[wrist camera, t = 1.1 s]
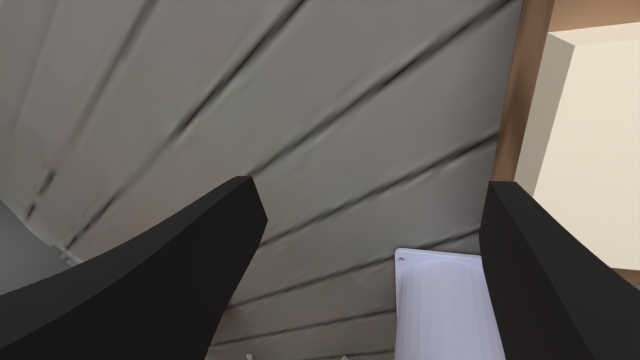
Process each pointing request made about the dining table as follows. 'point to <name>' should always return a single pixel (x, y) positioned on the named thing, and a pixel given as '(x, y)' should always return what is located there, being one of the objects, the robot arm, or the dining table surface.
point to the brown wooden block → (535, 22)
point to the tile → (588, 139)
